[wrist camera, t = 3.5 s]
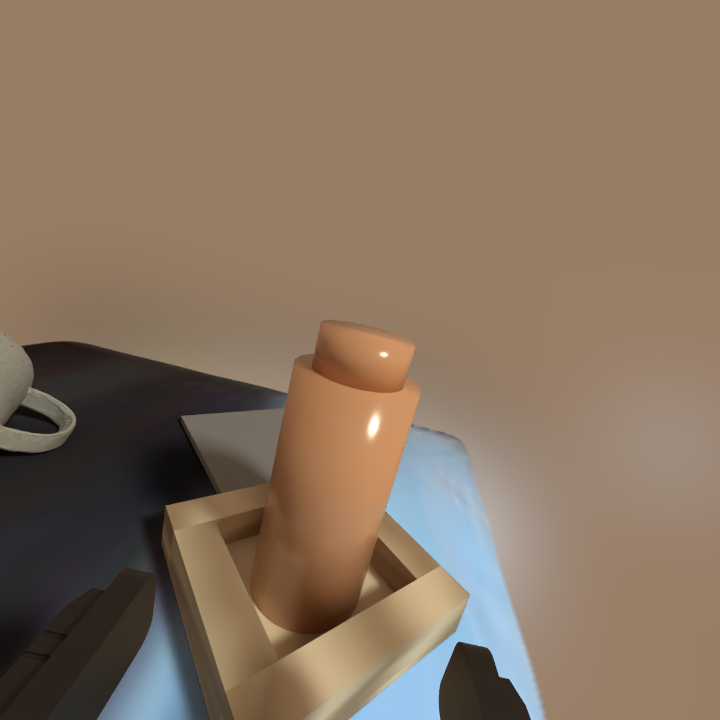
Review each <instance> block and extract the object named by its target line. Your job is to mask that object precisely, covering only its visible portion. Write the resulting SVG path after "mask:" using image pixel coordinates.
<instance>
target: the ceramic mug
mask: <svg viewBox="0 0 720 720" xmlns="http://www.w3.org/2000/svg"><path fill="white" fill-rule="evenodd" d="M33 378H34V373H33V366H32V362H31V360H30V358H29V357H28V355H27V354H26V353H25V351H24V349H23V348H22V347H21V346H20V345H19V344H18V343H17V342H15V341H14V340H13V339H11V338H10V337H8V336H7V335H6V334H4V333H2V332H0V449H3V450H7V451H12V452H23V453H39V452H46V451H50V450H52V449H55V448H57V447H59V446H61V445H62V444H63V443H64V442H65V441H66V439H67V438H68V436H69V435H70V433H71V432H72V430H73V429H74V427H75V425H76V417H75V415H74V413H73V412H72V411H71V410H70V409H69V408H68V407H67V406H66V405H64V404H63V403H62V402H60V401H59V400H57V399H55V398H53V397H52V396H50V395H48V394H46V393H43V392H41V391H38V390H36V389H33V388H31V386H32V382H33ZM19 406H23V407H26V408H29V409H31V410H34V411H36V412H38V413H41V414H42V415H44V416H46V417H48V418H50V419H51V420H52V421H54V422H55V423H56V424H57V425H58V426H59V431H58V432H57V433H54V434H37V433H30V432H24V431H19V430H16V429H12V428H8V427H4V426H3V425H4V424H5V423H6V422H7V421H8V419H9V417H10V416H11V415H12V413H13V412H14V411H15V410H16V409H17V408H18V407H19Z"/></svg>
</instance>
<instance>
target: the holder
mask: <svg viewBox="0 0 720 720" xmlns="http://www.w3.org/2000/svg"><path fill="white" fill-rule="evenodd" d="M269 484H270V483H266V484H261V485H257V486H252V487H248V488H243V489H239V490H234V491H230V492H225V493H221V494H216V495H212V496H207V497H203V498H198V499H193V500H189V501H184V502H180V503H175V504H171V505H166V507H165V515H164V524H163V532H162V541H161V544H162V547H163V551H164V555H165V558H166V562H167V566H168V569H169V573H170V577H171V580H172V584H173V588H174V591H175V595H176V599H177V602H178V606H179V610H180V613H181V617H182V621H183V624H184V628H185V632H186V635H187V639H188V643H189V646H190V650H191V654H192V657H193V661H194V664H195V668H196V672H197V675H198V679H199V683H200V686H201V690H202V694H203V697H204V701H205V705H206V708H207V712H208V716H209V719H210V720H348V719H349V718H351V717H352V716H353V715H354V714H355V713H357V712H358V711H359V710H360V709H361V708H363V707H364V706H365V705H366V704H368V703H369V702H370V701H371V700H372V699H374V698H375V697H376V696H377V695H378V694H380V693H381V692H382V691H383V690H385V689H386V688H387V687H388V686H389V685H391V684H392V683H393V682H394V681H396V680H397V679H398V678H399V677H400V676H402V675H403V674H404V673H405V672H406V671H408V670H409V669H410V668H411V667H413V666H414V665H415V664H416V663H417V662H419V661H420V660H421V659H422V658H424V657H425V656H426V655H427V654H428V653H430V652H431V651H432V650H433V649H434V648H436V647H437V646H438V645H439V644H441V643H442V642H443V641H444V640H445V639H447V638H448V637H449V636H450V635H452V634H453V633H454V632H455V631H456V629H457V627H458V624H459V622H460V619H461V617H462V614H463V612H464V609H465V607H466V604H467V602H468V599H469V596H470V594H469V593H468V592H467V591H466V590H465V589H464V588H463V587H462V586H461V585H460V584H459V583H458V582H457V581H456V580H455V579H454V578H453V577H452V576H451V575H450V574H449V573H448V572H447V571H446V570H445V569H444V568H443V567H442V566H441V565H439V564H438V563H437V562H436V561H435V560H434V559H433V558H432V557H431V556H430V555H429V554H428V553H427V552H426V551H425V550H424V549H423V548H422V547H421V546H420V545H419V544H418V543H417V542H416V541H415V540H414V539H413V538H412V537H411V536H410V535H409V534H408V533H407V532H406V531H405V530H404V529H403V528H402V527H401V526H400V525H399V524H398V523H397V522H396V521H395V520H394V519H393V518H392V517H391V516H390V515H389V514H388V513H387V512H386V511H385V514H384V517H383V520H382V524H381V527H380V530H379V534H378V537H377V540H376V544H375V547H374V550H373V554H372V557H371V560H370V564H369V567H368V570H367V574H366V577H365V581H364V584H363V587H362V591H361V594H360V597H359V601H358V604H357V606H356V608H355V610H354V611H353V613H352V615H351V616H350V617H349V618H348V619H347V620H346V621H345V622H344V623H342V624H340V625H338V626H337V627H335V628H333V629H332V630H329V631H327V632H323V633H317V634H301V633H295V632H291V631H288V630H286V629H283V628H281V627H279V626H277V625H276V624H274V623H273V622H271V621H270V620H269V619H268V618H266V616H265V615H264V614H263V613H262V612H261V611H260V609H259V608H258V606H257V605H256V603H255V601H254V598H253V595H252V592H251V584H250V579H251V572H252V568H253V563H254V558H255V553H256V548H257V543H258V538H259V533H260V528H261V523H262V518H263V513H264V508H265V503H266V498H267V494H268V489H269Z"/></svg>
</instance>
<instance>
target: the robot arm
mask: <svg viewBox="0 0 720 720" xmlns="http://www.w3.org/2000/svg"><path fill="white" fill-rule="evenodd" d="M156 583H157V576H156V574H152V573H147V572H142V571H138V570H133V569H129V568H126V569H124V570H123V571H122V572H121V573H120V574H119V575H118V576H117V577H116V578H115V579H114V581H113V582H112V583H111V584H110V585H109V587H108V588H107V589H106V590H105V591H103V590H99V589H94V588H92V589H90V590H89V591H87V592H86V593H85V594H83V595H82V596H80V597H79V598H77V599H76V600H74V601H73V602H71V603H70V604H68V605H67V606H66V607H65V608H64V609H63V610H62V611H61V612H60V613H59V614H58V615H57V617H56V618H55V619H54V620H53V621H52V622H51V623H50V624H49V625H48V626H47V628H46V629H45V630H44V632H43V634H42V635H39V636H38V637H37V639H36V640H35V641H34V642H33V643H32V644H31V645H30V646H29V647H28V648H27V650H26V651H25V653H24V655H23V656H20V657H19V658H18V659H17V661H16V662H15V663H14V664H13V665H12V666H11V667H10V668H9V669H8V670H7V672H6V673H5V674H4V675H3V676H2V677H1V678H0V720H97V718H98V717H99V715H100V713H101V712H102V710H103V708H104V707H105V705H106V703H107V702H108V700H109V699H110V697H111V695H112V694H113V692H114V690H115V689H116V687H117V685H118V684H119V682H120V681H121V679H122V677H123V676H124V674H125V672H126V671H127V669H128V667H129V666H130V664H131V662H132V661H133V659H134V658H135V656H136V654H137V653H138V651H139V649H140V648H141V646H142V644H143V642H144V640H145V638H146V636H147V633H148V631H149V628H150V625H151V621H152V617H153V608H154V600H155V591H156ZM439 712H440V719H441V720H531V719H530V716H529V713H528V711H527V708H526V705H525V704H524V702H523V701H522V699H521V697H520V696H519V694H518V693H517V691H516V689H515V688H514V686H513V685H512V683H511V682H510V680H509V679H506V678H501V677H499V675H498V672H497V669H496V666H495V662H494V659H493V656H492V654H491V652H490V651H489V649H488V648H486V647H481V646H477V645H472V644H467V643H463V642H458V643H457V644H456V646H455V648H454V651H453V653H452V656H451V658H450V661H449V663H448V665H447V668H446V670H445V673H444V675H443V678H442V680H441V684H440V689H439Z"/></svg>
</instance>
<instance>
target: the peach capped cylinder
mask: <svg viewBox="0 0 720 720" xmlns="http://www.w3.org/2000/svg"><path fill="white" fill-rule="evenodd" d="M415 346H416V345H415V344H414V343H413V342H412V341H410V340H408V339H406V338H404V337H401V336H399V335H396V334H393V333H390V332H387V331H384V330H381V329H377V328H373V327H369V326H365V325H361V324H356V323H351V322H344V321H336V320H324V321H321V324H320V329H319V334H318V338H317V343H316V347H315V352H314V354H307V355H302V356H300V357H298V358H297V359H295V361H294V366H293V370H292V375H291V380H290V385H289V390H288V395H287V400H286V405H285V410H284V415H283V420H282V424H281V429H280V434H279V439H278V444H277V449H276V454H275V459H274V464H273V469H272V474H271V479H270V484H269V489H268V494H267V498H266V503H265V508H264V513H263V518H262V523H261V528H260V533H259V538H258V543H257V548H256V553H255V558H254V563H253V568H252V572H251V579H250V584H251V592H252V595H253V598H254V601H255V603H256V605H257V606H258V608H259V609H260V611H261V612H262V613H263V614H264V615H265V616H266V618H268V619H269V620H270V621H271V622H273V623H274V624H276V625H277V626H279V627H281V628H283V629H286V630H288V631H291V632H295V633H301V634H317V633H323V632H327V631H329V630H332V629H333V628H335V627H337V626H338V625H340V624H342V623H344V622H345V621H346V620H347V619H348V618H349V617H350V616H351V615H352V613H353V611H354V610H355V608H356V606H357V604H358V601H359V597H360V594H361V591H362V587H363V584H364V581H365V577H366V574H367V570H368V567H369V564H370V560H371V557H372V554H373V550H374V547H375V544H376V540H377V537H378V534H379V530H380V527H381V524H382V520H383V517H384V514H385V510H386V507H387V504H388V500H389V497H390V494H391V490H392V487H393V484H394V480H395V477H396V474H397V470H398V467H399V464H400V460H401V457H402V454H403V450H404V447H405V444H406V440H407V437H408V434H409V430H410V427H411V424H412V420H413V417H414V413H415V410H416V407H417V403H418V400H419V396H420V393H421V391H420V388H419V386H418V385H416V383H415V382H413V381H412V380H411V379H409V378H408V377H407V374H408V371H409V367H410V363H411V360H412V357H413V353H414V349H415Z"/></svg>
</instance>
